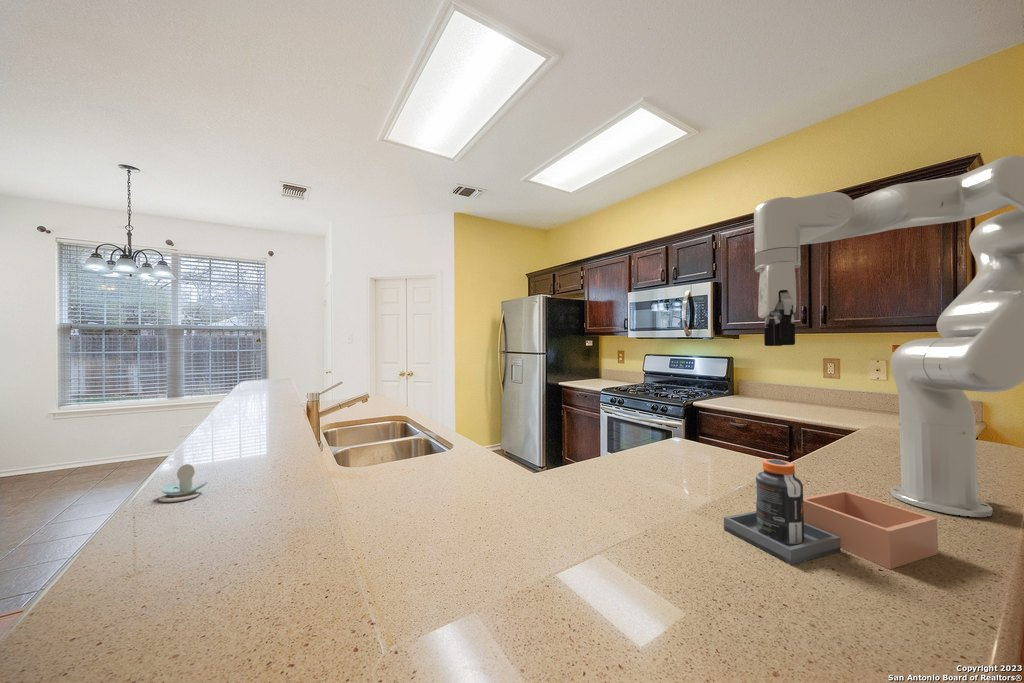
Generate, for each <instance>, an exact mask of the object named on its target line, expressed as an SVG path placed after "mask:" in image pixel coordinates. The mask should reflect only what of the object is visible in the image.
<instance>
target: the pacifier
mask: <svg viewBox="0 0 1024 683" xmlns="http://www.w3.org/2000/svg"><path fill="white" fill-rule="evenodd" d="M195 475H196V467H195V466H194V465H192V464H191V463H189V464H188V463H185V464H183V465H182V466H180V467H179V468H178V470H177V473H176V477H177V479H178V481H179V482H178V483H179V484H173V483H170V484H165V485H163V486H162V488H161V492H162V493H163V494H165V495H162V496H160V497H159V498H158V501H159V502H163V503H173V502H181V501H187V500H191V499H194V498H197V497H198V496H200V492H197V491H198V490H199V489H202V488H203V487H205V486H206V485H207V484H209V481H207V482H204V483H201V484H199V485H196V486H193V477H194V476H195Z"/></svg>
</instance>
